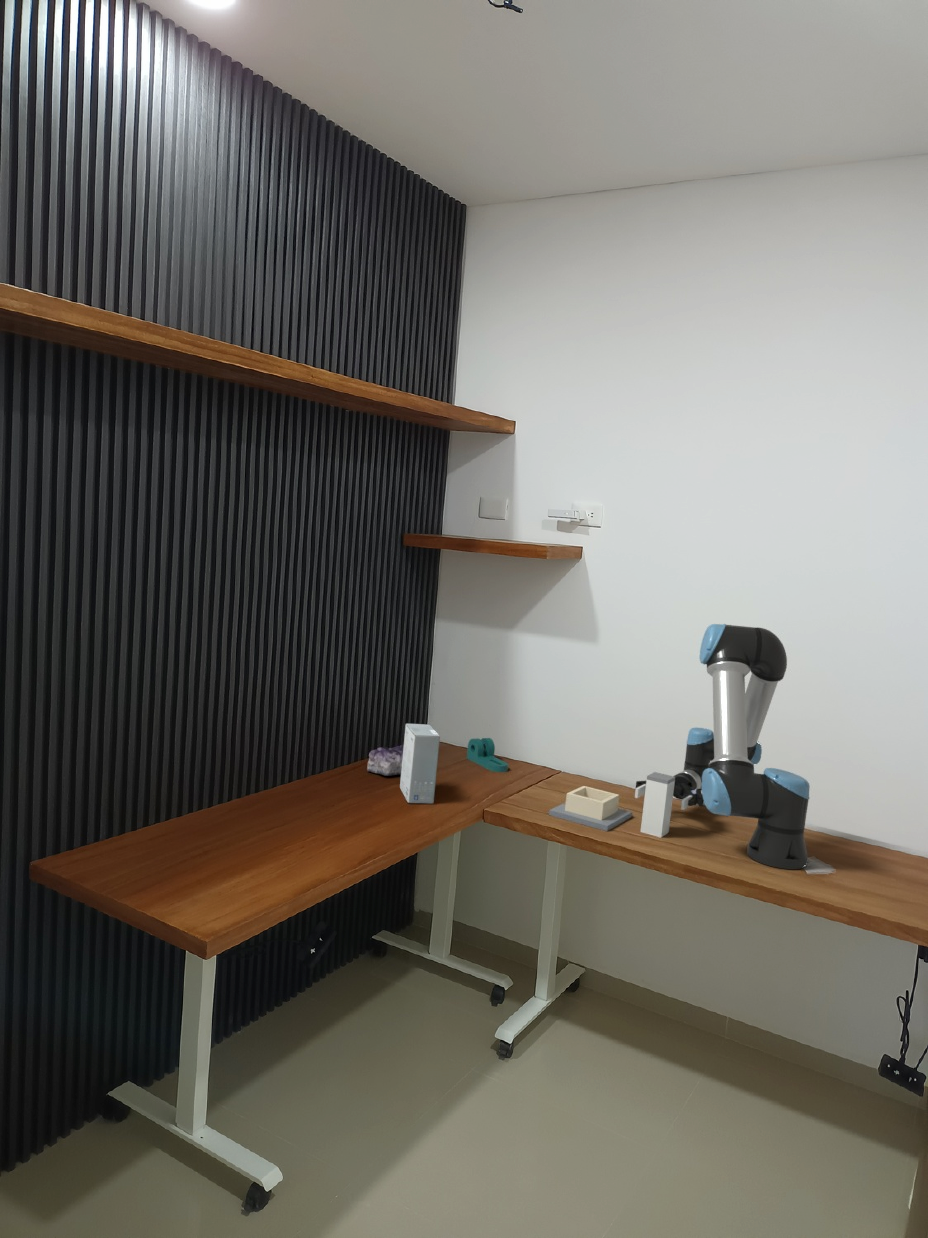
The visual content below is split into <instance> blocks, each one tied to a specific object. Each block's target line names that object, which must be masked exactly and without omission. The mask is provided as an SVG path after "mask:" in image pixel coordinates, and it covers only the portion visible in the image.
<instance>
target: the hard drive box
mask: <svg viewBox="0 0 928 1238" xmlns="http://www.w3.org/2000/svg"><path fill="white" fill-rule="evenodd" d="M403 738H404V739H403V740H404V741H403V745H404V748H403V759H402V770H401V774H400V780H399V781H400V782H399V783H400V784H399V788H400V790H401V793H402V794H403V796H404V798H405V800H406V801H407V803H408V804H431V805H432V804H434V801H435V790H436V781H437V773H438V772H437V771H438V770H437V769H438V761H439V752H440V751H439V750H440V749H439V748H440V740H441V739H440V738H441V736H440V735H439V733H438V732H437V731H436V730H435V729H434V728H433V727H432V726H431V725H430V724H423V723H422V724H421V723H405V728H404V737H403Z"/></svg>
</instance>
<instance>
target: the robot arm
mask: <svg viewBox="0 0 928 1238" xmlns="http://www.w3.org/2000/svg"><path fill="white" fill-rule="evenodd" d="M705 629H706V630H705V631H704V634H703V637H702V640H701V644H700V649H699V662H700V664H703V666H704V665H706V672H707V674H709V676H711V677H712V708H713V711H712V713H713V714H712V715H713V730H711V729H709V728H704V727H692V728H690V729H689V731H688V734H687V739H686V746H685V747H686V748H685V757H684V759H685V760H684V764H683V771H680V772H678V773H676V774H675V775H673V776H674V777H675V784H674V792H673V798H676V799H678V800H681V807H680V810H683V811H684V810H686V809H688V808H690V807H692V806H697V805H698V806H699V807H704V806H705V807H706V809H707V810H708V811H709V812H710V813H712V814H714V815H720V816H723V817H736V818H737V817H738V818H739V817H741V818H747V819H748V818H749V819H757V825H756V827H755V830H754V832H753V834H752V836H751V838H750V839H749V841H748V844H747V846H746V847H747V848H746V855H747V856H748V857H749V858H750V859H752V860H754V861H755V862H758V863H760V864H762V865H765V866H768V867H773V868H779V869H784V870H800V869H803V868H802V867H803V866H804V865H806V863H807V864H808V851H807V847H806V845H807V844H806V841H805V837H804V836H805V835H804V834H805V827H806V819H807V813H808V806H809V800H810V783H809V782H808V780H807V779H806V778H804V777H802V776H801V775H799V774H796V773H793V772H791V771H787V770H783V769H781V768H780V769H779V768H774V767H766V768H765V769H764V770H763V773H756V772H755V765H754V764H756V765H758V763H760V761H761V758H762V753H763V749H762V744H761V743H760V744H761V745H760V744H758V743H757V741H758V740H759V737H760V735H761V731H762V728H763V726H764V724H765V720H766V717H767V715H768V712H769V708H770V706H771V704H772V700H773V697H774V694H775V691H776V688H777V686H778V683H779V682H781V681H783V679H784V677H785V675H786V671H787V666H788V657H787V652H786V649H785V646H784V644H783V642H782V641H781V639H780V638H779V637H778V636H777V635H776V634H775V633H773V632H772V631H771V630H769V629H766V628H763V627H754V626H753V627H751V626H744V625H732V624H726V623H721V624H720V623H719V624H718V623H713V624H709V625H708V626H707V627H706V628H705ZM749 673H751V674H750V678H749V682H748V684H747V688H746V682H745V680H746V679H745V677H746V676H747V675H748V674H749ZM646 781H647V779H645V780H637V781H635V782H636V783H635V789H634V791H635V792H634V798H635V799H638V798H640V797H643V796H645V789H646Z"/></svg>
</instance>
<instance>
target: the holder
mask: <svg viewBox="0 0 928 1238" xmlns="http://www.w3.org/2000/svg"><path fill="white" fill-rule="evenodd" d="M565 796H566V798H565V802H563V803H561V804H559V805H557V806H555V807H553V808H551V809H549V812H548V816H551V817H555V818H557V819H562V820H565V821H569V822H573V823H575V824H578V825H579V824H580V825H583V826H587V827H590V828H594V829H598V830H600V831H601V830H602V831H605V832H608V831H610V830H612V829H614V828H615V827H617V826H619V825H620V824H622V823H624V822H627V820H629V819H630V818H632V817H633V811H630V810H627V809H623V808H620V807H619V802H620V801H619V800H620V794H619V793H618V794H617V793H613V792H610V791H606V790H602V789H598V788H595V787H589V786H585V785H583V786H580V787H578V788H575V789H573V790H571V791H569V792H567V793H566V795H565Z"/></svg>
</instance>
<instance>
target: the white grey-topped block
mask: <svg viewBox="0 0 928 1238" xmlns="http://www.w3.org/2000/svg"><path fill="white" fill-rule="evenodd" d="M674 776H675V775H668V774H664V773H660V772H656V771H654V772H652V773H650V774H648V775H646V780H647V781H646V780H645V781H646V789H645V794H644V799H643V806H642V807H643V809H642V817H641V825H640V833H643V834H647V835H651V836H654V837H657V838H663V837H664V836H666V835H667V834H669V831H670V824H671V816H672V807H673V799H674V796H673V792H674V784H675V777H674Z"/></svg>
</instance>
